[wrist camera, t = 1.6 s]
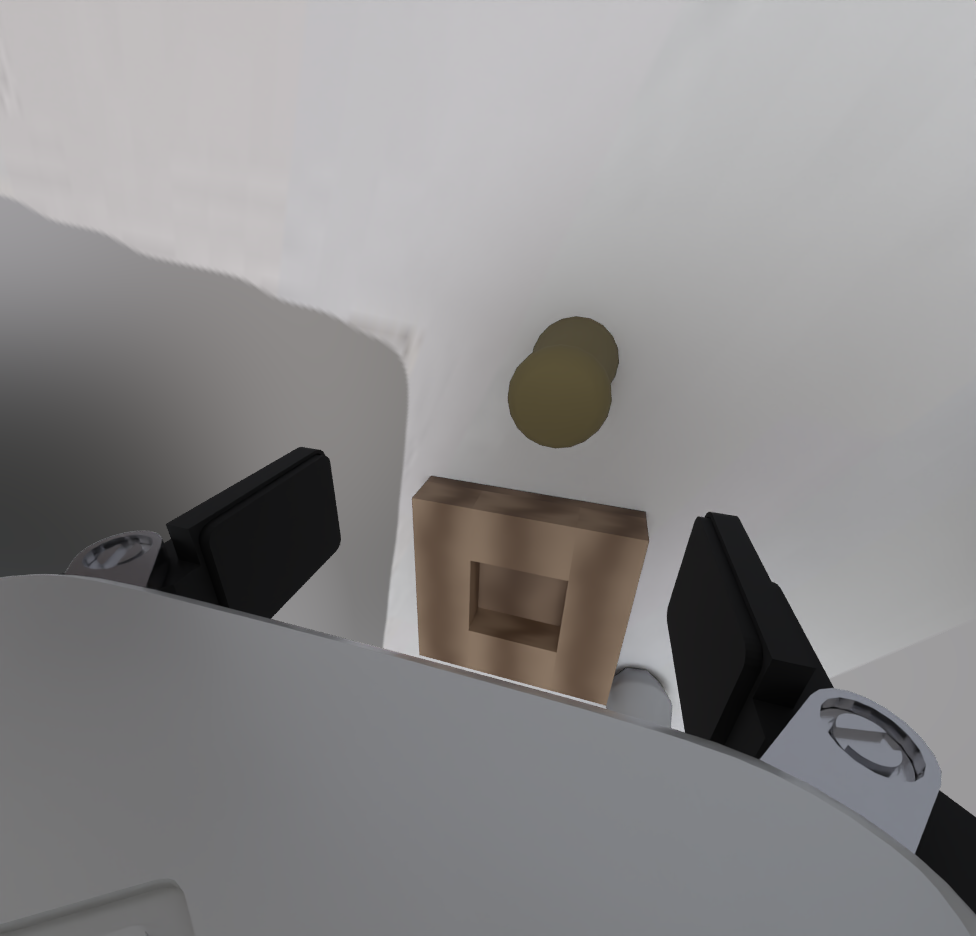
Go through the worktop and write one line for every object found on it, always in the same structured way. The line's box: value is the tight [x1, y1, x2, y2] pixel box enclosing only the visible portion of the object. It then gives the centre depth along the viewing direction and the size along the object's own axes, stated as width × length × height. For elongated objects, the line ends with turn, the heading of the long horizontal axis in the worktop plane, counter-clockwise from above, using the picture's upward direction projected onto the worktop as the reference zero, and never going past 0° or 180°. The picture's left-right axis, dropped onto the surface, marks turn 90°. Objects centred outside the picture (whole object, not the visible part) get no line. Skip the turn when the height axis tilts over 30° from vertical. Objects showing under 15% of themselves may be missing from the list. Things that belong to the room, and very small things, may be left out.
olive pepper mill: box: [508, 316, 619, 448], centre depth 24 cm, size 6×6×11 cm
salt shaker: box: [606, 668, 672, 728], centre depth 35 cm, size 6×6×13 cm
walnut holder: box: [412, 476, 649, 705], centre depth 37 cm, size 18×18×4 cm
